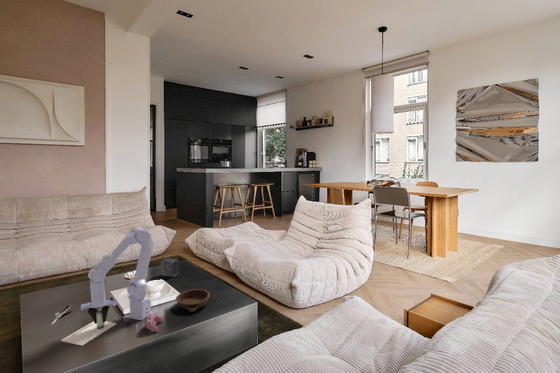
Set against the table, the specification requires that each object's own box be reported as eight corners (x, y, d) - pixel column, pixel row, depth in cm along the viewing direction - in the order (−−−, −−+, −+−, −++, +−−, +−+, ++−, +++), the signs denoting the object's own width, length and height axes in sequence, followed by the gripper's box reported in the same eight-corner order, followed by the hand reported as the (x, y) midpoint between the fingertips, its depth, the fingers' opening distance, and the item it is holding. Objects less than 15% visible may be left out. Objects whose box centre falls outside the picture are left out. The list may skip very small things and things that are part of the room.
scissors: (42, 326, 150) (42, 321, 150) (64, 306, 171) (64, 301, 171) (60, 324, 152) (59, 320, 151) (80, 304, 172) (79, 300, 172)
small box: (180, 274, 213) (179, 259, 212) (173, 278, 207) (172, 262, 206) (167, 272, 217) (167, 257, 216) (160, 275, 211) (159, 260, 210)
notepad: (116, 324, 150) (116, 323, 150) (82, 345, 133) (81, 344, 133) (96, 320, 154) (96, 319, 154) (61, 341, 137) (61, 340, 137)
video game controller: (155, 324, 152) (148, 312, 151) (164, 320, 152) (157, 308, 151) (149, 336, 142) (141, 323, 141) (158, 331, 142) (150, 318, 141)
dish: (173, 316, 157) (173, 307, 156) (178, 297, 178) (178, 288, 178) (209, 312, 160) (209, 303, 160) (210, 294, 182) (210, 285, 181)
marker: (106, 325, 148) (104, 309, 147) (101, 329, 145) (100, 312, 144) (100, 325, 149) (98, 308, 148) (95, 328, 146) (94, 312, 145)
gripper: (117, 288, 151) (119, 315, 152) (83, 292, 147) (86, 320, 149) (113, 294, 144) (115, 323, 145) (77, 298, 141) (80, 327, 142)
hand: (100, 322), depth 147 cm, fingers closed on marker, 3 cm apart
